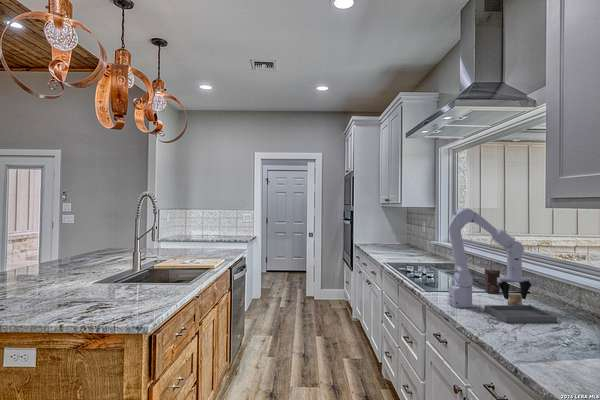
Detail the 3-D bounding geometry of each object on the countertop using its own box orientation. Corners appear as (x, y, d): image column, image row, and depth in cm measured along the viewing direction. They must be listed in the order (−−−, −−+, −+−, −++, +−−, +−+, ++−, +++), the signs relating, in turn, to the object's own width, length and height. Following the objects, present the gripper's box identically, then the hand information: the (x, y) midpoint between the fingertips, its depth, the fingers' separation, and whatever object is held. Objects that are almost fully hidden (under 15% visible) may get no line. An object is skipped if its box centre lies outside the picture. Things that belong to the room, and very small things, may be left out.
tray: (505, 323, 142) (505, 316, 142) (484, 311, 158) (484, 305, 158) (557, 322, 142) (557, 316, 142) (530, 310, 158) (530, 305, 158)
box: (488, 293, 189) (488, 270, 189) (484, 291, 194) (484, 268, 194) (500, 293, 189) (500, 270, 189) (496, 291, 193) (496, 268, 194)
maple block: (512, 309, 161) (512, 295, 161) (507, 306, 165) (507, 293, 165) (521, 309, 161) (521, 295, 161) (516, 306, 165) (516, 293, 165)
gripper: (503, 269, 159) (503, 301, 159) (536, 269, 160) (536, 300, 159) (494, 267, 167) (494, 297, 166) (526, 266, 167) (526, 296, 166)
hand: (514, 298), depth 163 cm, fingers open, 7 cm apart
